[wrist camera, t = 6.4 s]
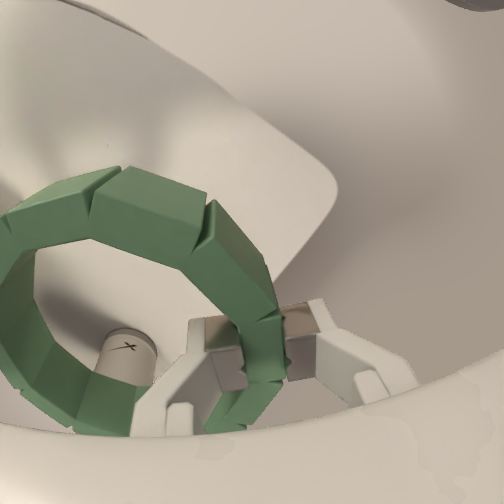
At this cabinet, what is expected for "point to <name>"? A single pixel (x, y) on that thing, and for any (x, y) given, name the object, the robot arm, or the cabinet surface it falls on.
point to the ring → (150, 247)
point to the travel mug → (128, 357)
